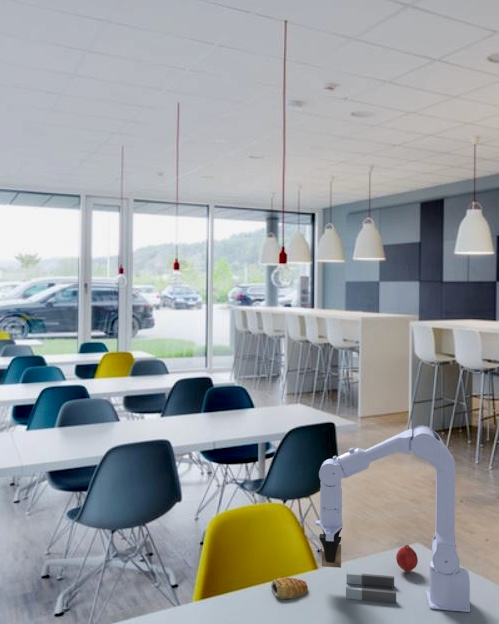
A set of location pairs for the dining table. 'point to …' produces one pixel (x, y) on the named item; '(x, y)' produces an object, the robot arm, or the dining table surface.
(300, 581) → the pastry
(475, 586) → the dining table surface
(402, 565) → the pomegranate
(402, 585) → the dining table surface
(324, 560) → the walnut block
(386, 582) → the grey i-beam block
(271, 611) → the dining table surface
